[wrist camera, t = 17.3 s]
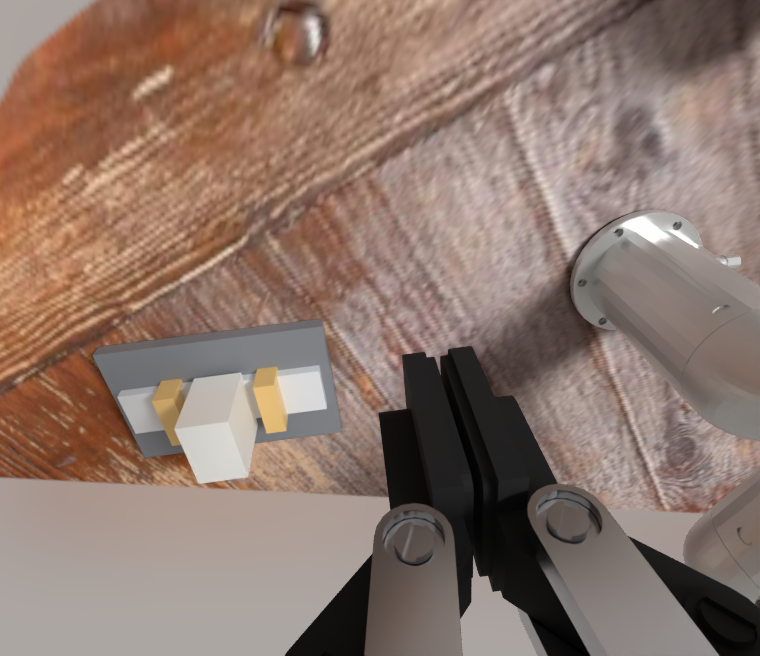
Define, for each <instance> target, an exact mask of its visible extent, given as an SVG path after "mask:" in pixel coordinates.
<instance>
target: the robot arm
mask: <svg viewBox="0 0 760 656" xmlns="http://www.w3.org/2000/svg"><path fill="white" fill-rule="evenodd" d="M740 265H741V258H740V256H739V255H738V254H729V255H722V256H719V257H718V256H716V255H714V254H712V253H711V252H709V251H707V250H706V249H704V248H703V246H702V241H701V238H700V235H699V233H698V232H697V230H696V229H695V227H694V226H693V225H692V224H691V223H690V222H688V221H687V220H686V219H685V218H683V217H681V216H679V215H677V214H675V213H672V212H668V211H665V210H654V209H651V210H643V211H638V212H634V213H631V214H628V215H625V216H623V217H621V218H619V219H617V220H615V221H613V222H612V223H610V224H609V225H607V226H606V227H604V228H603V229H601V230H600V231H599V232H598V233H597V234H596V235H595V236H594V237H593V238H592V239H591V240H590V241H589V242H588V244H587V245H586V246H585V247H584V248H583V250H582V252H581V253H580V255H579V257H578V258H577V260H576V263H575V265H574V268H573V270H572V275H571V280H570V294H571V297H572V301H573V304H574V305H575V307H576V309H577V311H578V312H579V313H580V314H581V315H582V316H583V318H585V319H586V320H587V321H588V322H590V323H591V324H593V325H595V326H597V327H599V328H603V329H607V330H618V331H619V332H620V333H621V334H622V335H623V336H624V337H625V338H626V339H627V340H628V341H629V342H630V343H631V344H632V345H633V346H634V347H635V349H636V350H637V351H638V352H639V353H640V354H641V355H642V356H643V357H644V358H645V359H646V360H647V361H648V362H649V363H650V364H651V365H652V366H653V367H654V368H655V369H656V371H657V372H658V373H659V374H660V375H661V376H662V377H663V378H664V379H665V380H666V381H667V382H668V383H669V384H670V385H671V386H672V387H673V388H674V389H675V390H676V391H677V393H678V394H679V395H680V396H681V397H682V398H683V399H684V400H685V401H686V402H687V403H688V404H689V405H690V406H691V407H692V408H693V409H694V410H695V411H696V412H697V413H698V414H699V415H700V416H701V417H702V418H703V419H705V420H706V421H707V422H709V423H710V424H712V425H713V426H715V427H716V428H718V429H720V430H723V431H725V432H727V433H729V434H732V435H735V436H739V437H742V438H746V439H751V440H757V441H760V285H758V284H756V283H755V282H753V281H751V280H750V279H748V278H746V277H745V276H744V275H743V274H740V273H738V272H736V271H735V270H733V269H736V268H738V267H739V266H740ZM402 360H403V372H404V383H405V395H406V406H407V409H403V410H396V411H388V412H380V413H379V420H380V428H381V436H382V444H383V453H384V461H385V469H386V477H387V485H388V494H389V502H390V511H389V512H388V513H387V514H386V515H384V516H383V517H382V519H381V521H380V522H379V524H378V525H377V527H376V531H375V535H374V543H373V554H372V555H371V556H370V557H369V558H368V559H367V560H366V562H365V563H364V564H363V565H362V566H361V567H360V569H359V570H358V571H357V572H356V573H355V574H354V575H353V577H352V578H351V579H350V580H349V581H348V582H347V583H346V585H345V586H344V587H343V588H342V590H341V591H339V593H338V594H337V595H336V596H335V597H334V598H333V600H332V601H331V602H330V603H329V604H328V605H327V606H326V608H325V609H324V610H323V611H322V612H321V613H320V615H319V616H318V617H317V618H316V619H315V620H314V621H313V623H312V624H311V625H310V626H309V627H308V628H307V629H306V631H305V632H304V633H303V634H302V635H301V636H300V638H299V639H298V640H297V641H296V642H295V644H293V646H292V647H291V648H290V649H289V650H288V651H287V653H286V654H285V656H463V653H462V639H461V625H460V619H461V617H462V616H463V614H464V612H465V611H466V609H467V608H468V606H469V605H470V603H471V578H472V577H473V555H474V559H475V563H476V567H477V570H478V573H479V576H480V577H482V576H488V577H489V580H490V583H491V587H492V591H493V592H494V591H501V593H502V596H503V598H504V599H506V600H507V601H509V602H510V603H512V604H513V605H515V606H516V607H518V612H519V615H520V618H521V621H522V623H523V625H524V627H525V629H526V631H527V634H528V636H529V638H530V640H531V642H532V644H533V646H534V648H535V650H536V653H537V655H538V656H760V468H758V469H757V470H756V471H755V472H754V473H752V474H751V475H750V476H749V477H748V478H746V479H745V480H744V481H743V482H742V483H740V484H739V485H738V486H737V487H736V488H735V489H733V490H732V491H731V492H730V493H729V494H727V495H726V496H725V497H724V498H723V499H721V500H720V501H719V502H718V503H717V504H715V505H714V507H713V508H711V509H710V510H709V511H708V512H707V513H705V514H704V515H703V517H701V518H700V519H699V520H698V521H697V522H696V523H695V524H694V526H693V527H692V528H691V529H690V531H689V532H688V534H687V536H686V539H685V542H684V547H683V556H684V561H685V564H683V563H681V562H679V561H676V560H675V559H673V558H670V557H669V556H667V555H665V554H663V553H661V552H659V551H657V550H655V549H653V548H651V547H649V546H647V545H645V544H643V543H641V542H639V541H637V540H635V539H633V538H631V537H629V536H627V535H626V533H625V532H624V531H623V529H622V528H621V527H620V525H619V524H618V523H617V521H616V520H615V519H614V518H613V516H612V515H611V514H610V512H609V511H608V510H607V508H606V507H605V506H604V505H603V504H602V503H601V502H600V501H599V500H598V499H597V498H596V497H595V496H594V495H592V494H590V493H589V492H587V491H586V490H584V489H581V488H578V487H576V486H573V485H566V484H558V483H557V481H556V479H555V477H554V475H553V473H552V471H551V469H550V467H549V465H548V463H547V461H546V459H545V457H544V455H543V453H542V451H541V449H540V447H539V445H538V443H537V441H536V439H535V437H534V435H533V433H532V431H531V429H530V427H529V425H528V423H527V421H526V419H525V417H524V415H523V413H522V411H521V409H520V407H519V405H518V403H517V401H516V400H515V398H514V397H513V396H512V395H510V396H503V397H494V395H493V393H492V390H491V388H490V386H489V384H488V381H487V379H486V377H485V374H484V372H483V370H482V368H481V365H480V363H479V361H478V359H477V356H476V354H475V352H474V350H473V348H472V347H471V346H467V347H459V348H452V349H448V355H444V356H441V357H440V366H441V376H440V373H439V370H438V366H437V363H436V360H435V357H428V358H427V357H426V354H425V352H420V353H413V354H405V355H402Z"/></svg>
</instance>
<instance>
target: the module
mask: <svg viewBox="0 0 760 656" xmlns="http://www.w3.org/2000/svg"><path fill="white" fill-rule="evenodd" d="M257 427H258V424H257V420H256V417H255V414H254V411H253V408H252V405H251V402H250V399H249V396H248V392H247V389H246V386H245V383H244V380H243V377H242V374H241V372H240V373H233V374H225V375H218V376H210V377H203V378H195V379H194V380H193V383H192V385H191V388H190V390H189V393H188V395H187V398H186V400H185V403H184V405H183V408H182V410H181V413H180V416H179V418H178V421H177V423H176V426H175V428H174V430H175V432H176V434H177V437H178V439H179V441H180V443H181V445H182V448H183V450H184V452H185V454H186V456H187V459H188V461H189V463H190V465H191V467H192V470H193V472H194V474H195V476H196V479H197V481H198V483H199V484H201V483H208V482H216V481H223V480H230V479H238V478H245V477H248V475H249V470H250V464H251V459H252V454H253V448H254V443H255V438H256V432H257Z"/></svg>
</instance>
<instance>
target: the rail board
mask: <svg viewBox="0 0 760 656" xmlns="http://www.w3.org/2000/svg"><path fill="white" fill-rule="evenodd" d="M92 356H93V358H94V360H95V362H96V364H97V366H98V368H99V370H100V372H101V374H102V376H103V377H104V379H105V381H106V383H107V385H108V387H109V389H110V391H111V393H112V395H113V397H114V399H115V401H116V403H117V405H118V407H119V409H120V411H121V413H122V415H123V417H124V418H125V420H126V422H127V424H128V426H129V428H130V430H131V432H132V434H133V436H134V438H135V440H136V442H137V444H138V446H139V448H140V450H141V452H142V454H143V456H144V458H148V457H155V456H163V455H171V454H178V453H185V452H184V450H183V448H182V445H181V443H180V441H179V439H178V437H177V434H176V432H175V430H174V428H175V426H176V423H177V421H178V418H179V416H180V413H181V410H182V408H183V405H184V403H185V400H186V398H187V395H188V393H189V390H190V388H191V385H192V383H193V380H194V379H195V378H203V377H210V376H218V375H225V374H233V373H240V372H241V374H242V377H243V380H244V383H245V386H246V389H247V392H248V396H249V399H250V402H251V405H252V408H253V411H254V414H255V417H256V420H257V424H258V427H257V432H256V438H255V443H262V442H270V441H277V440H285V439H293V438H300V437H308V436H315V435H323V434H331V433H338V432H342V422H341V416H340V411H339V406H338V400H337V395H336V390H335V384H334V379H333V374H332V368H331V363H330V358H329V352H328V347H327V342H326V336H325V331H324V326H323V320H322V319H314V320H306V321H299V322H291V323H283V324H275V325H267V326H259V327H251V328H243V329H235V330H227V331H219V332H211V333H203V334H195V335H187V336H180V337H172V338H164V339H156V340H148V341H140V342H132V343H124V344H116V345H108V346H100V347H98V348H97V350H96V351H95V352H94V354H93V355H92Z"/></svg>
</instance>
